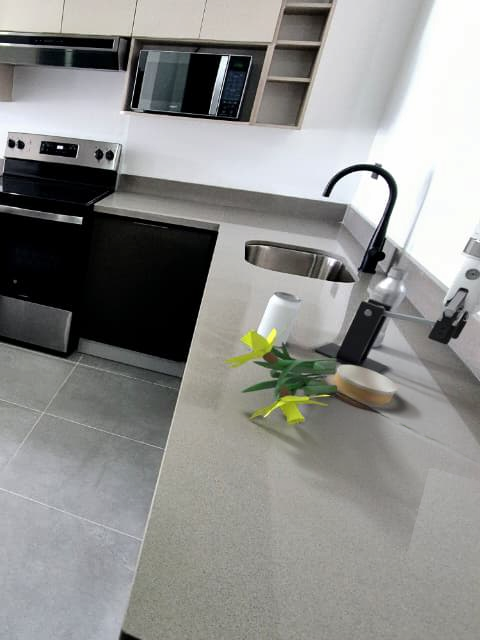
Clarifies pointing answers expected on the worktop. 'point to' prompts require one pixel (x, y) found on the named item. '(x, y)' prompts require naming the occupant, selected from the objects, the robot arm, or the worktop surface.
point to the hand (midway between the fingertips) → (442, 337)
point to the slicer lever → (410, 318)
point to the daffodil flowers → (286, 375)
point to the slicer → (360, 337)
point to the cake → (363, 386)
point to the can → (280, 316)
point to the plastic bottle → (390, 295)
